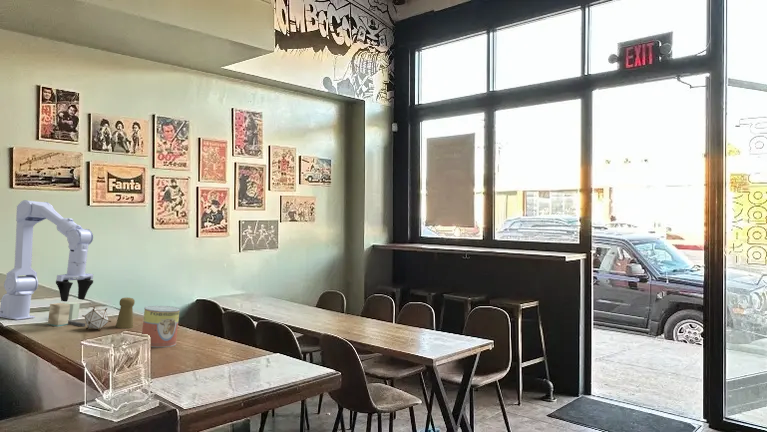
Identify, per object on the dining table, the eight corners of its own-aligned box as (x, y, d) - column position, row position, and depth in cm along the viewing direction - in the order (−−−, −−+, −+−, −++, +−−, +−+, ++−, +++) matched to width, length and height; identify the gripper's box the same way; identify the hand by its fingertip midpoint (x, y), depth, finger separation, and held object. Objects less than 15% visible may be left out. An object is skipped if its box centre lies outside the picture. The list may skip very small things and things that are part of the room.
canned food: (150, 348, 182) (154, 311, 182) (134, 341, 190) (138, 306, 190) (182, 345, 190) (186, 310, 191) (166, 339, 198) (170, 305, 198)
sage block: (60, 318, 216) (61, 303, 216) (66, 317, 220) (68, 301, 220) (71, 319, 216) (73, 304, 216) (78, 318, 220) (79, 302, 220)
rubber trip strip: (48, 320, 210) (48, 317, 210) (50, 320, 211) (51, 317, 211) (82, 326, 205) (82, 323, 205) (85, 326, 206) (85, 323, 207)
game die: (100, 339, 204) (121, 318, 206) (87, 335, 196) (109, 312, 198) (84, 324, 206) (105, 303, 209) (71, 319, 198) (93, 297, 201)
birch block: (47, 324, 203) (50, 304, 203) (58, 323, 207) (60, 302, 207) (57, 326, 202) (60, 305, 202) (67, 324, 206) (70, 304, 206)
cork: (129, 325, 216) (132, 296, 217) (135, 328, 212) (138, 298, 212) (113, 325, 212) (116, 296, 212) (118, 328, 208) (122, 299, 208)
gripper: (70, 264, 193) (65, 303, 193) (101, 263, 207) (97, 299, 207) (53, 261, 195) (49, 300, 195) (86, 261, 209) (81, 297, 209)
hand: (72, 300), depth 201 cm, fingers open, 7 cm apart
